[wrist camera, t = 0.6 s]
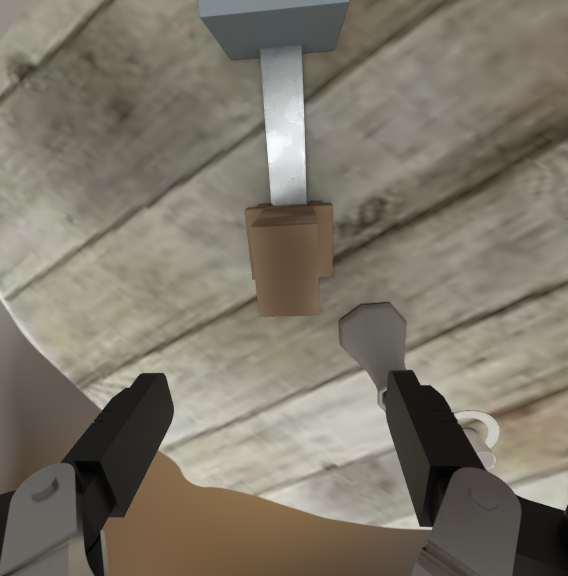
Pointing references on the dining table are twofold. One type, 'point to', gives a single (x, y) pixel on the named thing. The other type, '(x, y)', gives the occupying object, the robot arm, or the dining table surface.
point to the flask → (375, 342)
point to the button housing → (273, 24)
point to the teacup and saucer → (476, 441)
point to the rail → (284, 123)
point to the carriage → (290, 256)
